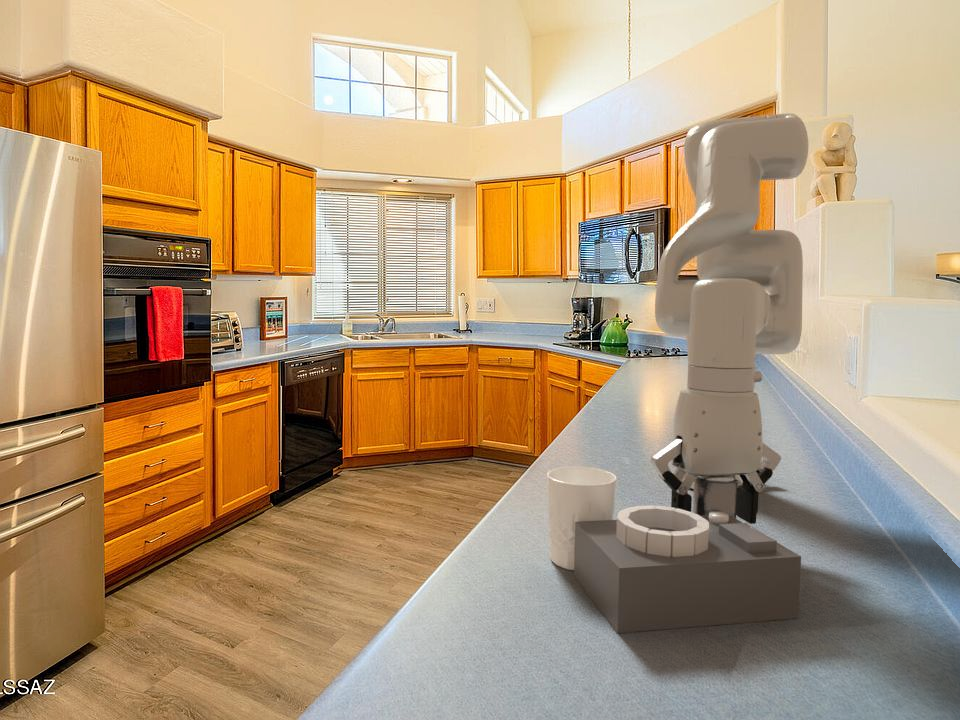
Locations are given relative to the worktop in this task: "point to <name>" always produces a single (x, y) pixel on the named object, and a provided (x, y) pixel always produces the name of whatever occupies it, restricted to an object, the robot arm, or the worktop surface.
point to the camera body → (683, 570)
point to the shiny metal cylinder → (715, 495)
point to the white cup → (576, 506)
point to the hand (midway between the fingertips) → (713, 521)
